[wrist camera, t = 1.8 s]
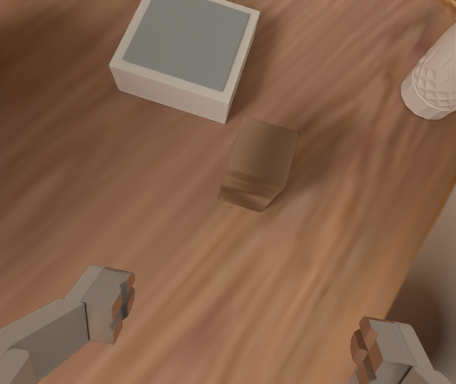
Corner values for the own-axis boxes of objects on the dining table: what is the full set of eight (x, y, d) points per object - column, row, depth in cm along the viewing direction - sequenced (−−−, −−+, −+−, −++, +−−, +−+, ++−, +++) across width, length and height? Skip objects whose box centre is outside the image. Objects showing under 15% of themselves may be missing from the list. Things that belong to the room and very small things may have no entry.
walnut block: (217, 199, 30) (226, 167, 22) (230, 159, 32) (243, 115, 23) (260, 212, 31) (286, 186, 22) (271, 172, 32) (299, 133, 23)
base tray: (118, 90, 33) (107, 63, 29) (157, 8, 36) (153, -26, 32) (224, 124, 33) (229, 102, 29) (253, 39, 36) (260, 9, 32)
